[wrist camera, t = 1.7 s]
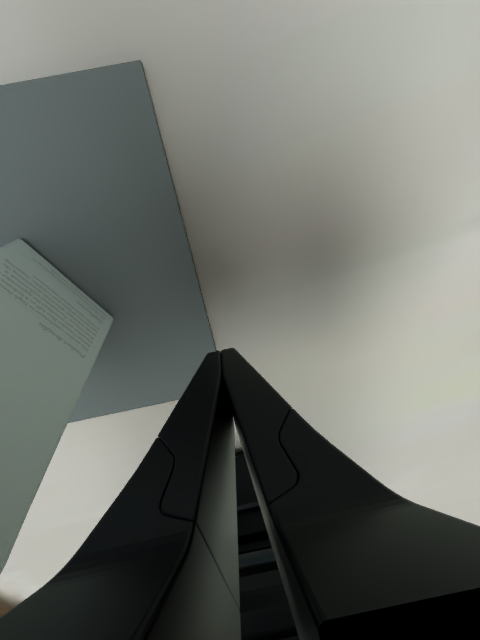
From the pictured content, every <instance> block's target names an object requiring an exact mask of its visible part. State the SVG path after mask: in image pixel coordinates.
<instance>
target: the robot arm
mask: <svg viewBox="0 0 480 640" xmlns="http://www.w3.org/2000/svg"><path fill="white" fill-rule="evenodd" d="M233 417H234V419H233ZM234 421H235V425H236V429H237V432H238V435H239V439H240V442H241V445H242V449H243V452H242V453H237V454H235V438H234ZM0 640H480V526H478V525H475V524H472V523H469V522H466V521H464V520H461V519H458V518H455V517H452V516H450V515H447V514H444V513H441V512H438V511H435V510H433V509H430V508H427V507H424V506H421V505H419V504H416V503H414V502H412V501H409V500H407V499H405V498H403V497H402V496H400V495H398V494H396V493H395V492H393V491H392V490H390V489H389V488H387V487H386V486H384V485H383V484H382V483H380V482H379V481H378V480H377V479H375V478H374V477H373V476H372V475H370V474H369V473H368V472H366V471H365V470H364V469H363V468H361V467H360V466H359V465H358V464H356V463H355V462H354V461H353V460H351V459H350V458H349V457H348V456H346V455H345V454H344V453H343V452H341V451H340V450H339V449H337V448H336V447H335V446H334V445H332V444H331V443H330V442H329V441H328V440H326V439H325V438H324V437H323V436H322V435H320V434H319V433H318V432H317V431H316V430H315V429H314V428H313V427H312V426H310V425H309V424H308V423H307V422H306V421H305V420H304V419H303V418H302V417H301V416H300V415H299V414H298V413H297V412H296V411H295V410H294V409H292V407H291V406H290V405H289V404H288V403H287V402H286V401H285V400H284V399H283V398H282V397H281V396H280V395H279V393H278V392H277V391H276V390H275V389H274V388H273V387H272V386H271V385H270V384H269V383H268V382H267V381H266V380H265V379H264V378H263V377H262V376H261V375H260V374H259V373H258V372H257V371H256V370H255V369H254V368H253V367H252V366H251V365H250V364H249V363H248V362H247V361H246V360H245V359H244V358H243V357H242V356H241V355H240V354H239V352H238V351H237V350H236V349H234V348H229V349H224V350H222V351H221V352H220V351H215V352H210V353H207V354H206V356H205V358H204V359H203V361H202V363H201V364H200V366H199V368H198V369H197V371H196V373H195V374H194V376H193V378H192V379H191V381H190V383H189V384H188V386H187V388H186V389H185V391H184V393H183V394H182V396H181V398H180V400H179V401H178V403H177V405H176V406H175V408H174V410H173V411H172V413H171V415H170V416H169V418H168V420H167V421H166V423H165V425H164V426H163V428H162V430H161V431H160V433H159V435H158V438H156V439H155V441H154V443H153V444H152V446H151V448H150V450H149V451H148V453H147V454H146V456H145V457H144V459H143V461H142V462H141V464H140V465H139V467H138V468H137V470H136V471H135V473H134V474H133V476H132V477H131V478H130V480H129V481H128V483H127V484H126V486H125V487H124V488H123V490H122V491H121V493H120V494H119V495H118V497H117V498H116V499H115V501H114V502H113V503H112V505H111V506H110V508H109V509H108V510H107V512H106V513H105V514H104V516H103V517H102V518H101V520H100V521H99V522H98V524H97V525H96V527H95V528H94V529H93V531H92V532H91V533H90V535H89V536H88V537H87V539H86V540H85V542H84V543H83V544H82V546H81V547H80V548H79V549H78V551H77V552H76V553H75V555H74V556H73V557H72V558H71V559H70V561H69V562H68V563H67V564H66V565H65V566H64V567H63V568H62V569H61V570H60V571H59V572H58V573H57V574H56V575H55V576H54V577H53V578H52V579H51V580H50V581H49V582H48V583H46V584H45V585H44V586H43V587H41V588H40V589H39V590H38V591H36V592H35V593H34V594H32V595H31V596H29V597H28V598H27V599H25V600H24V601H22V602H21V603H20V604H18V605H17V606H16V607H14V608H13V609H11V610H10V611H9V612H7V613H6V614H5V615H3V616H2V617H0Z"/></svg>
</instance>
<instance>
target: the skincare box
mask: <svg viewBox="0 0 480 640" xmlns="http://www.w3.org/2000/svg"><path fill="white" fill-rule="evenodd" d="M112 323H113V317H112V316H111V315H110V314H108V313H107V312H106V311H105V310H104V309H102V308H101V307H100V306H99V305H98V304H97V303H95V302H94V301H93V300H92V299H91V298H90V297H88V296H87V295H86V294H85V293H84V292H83V291H81V290H80V289H79V288H78V287H77V286H76V285H74V284H73V283H72V282H71V281H70V280H68V279H67V278H66V277H65V276H64V275H63V274H62V273H60V272H59V271H58V270H57V269H56V268H55V267H53V266H52V265H51V264H50V263H49V262H48V261H46V260H45V259H44V258H43V257H42V256H40V255H39V254H38V253H37V252H36V251H35V250H33V249H32V248H31V247H30V246H29V245H28V244H26V243H25V242H24V241H23V240H21V239H16V240H14V241H12V242H10V243H8V244H6V245H4V246H2V247H0V574H1V572H2V570H3V568H4V566H5V565H6V562H7V560H8V558H9V555H10V553H11V550H12V548H13V546H14V543H15V541H16V539H17V536H18V534H19V532H20V529H21V527H22V525H23V522H24V520H25V518H26V515H27V513H28V511H29V508H30V506H31V504H32V502H33V499H34V497H35V495H36V493H37V490H38V488H39V486H40V484H41V481H42V479H43V477H44V475H45V472H46V470H47V468H48V465H49V463H50V461H51V459H52V456H53V454H54V452H55V450H56V448H57V445H58V443H59V441H60V439H61V436H62V434H63V432H64V430H65V428H66V425H67V423H68V421H69V419H70V416H71V414H72V412H73V410H74V407H75V405H76V403H77V401H78V398H79V396H80V394H81V392H82V390H83V387H84V385H85V383H86V381H87V379H88V376H89V374H90V372H91V370H92V367H93V365H94V363H95V360H96V358H97V356H98V354H99V351H100V349H101V347H102V345H103V342H104V340H105V338H106V336H107V334H108V332H109V329H110V327H111V325H112Z"/></svg>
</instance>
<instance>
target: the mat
mask: <svg viewBox="0 0 480 640" xmlns="http://www.w3.org/2000/svg"><path fill="white" fill-rule="evenodd" d="M16 239H21V240H23V241H24V242H25V243H26V244H28V245H29V246H30V247H31V248H32V249H33V250H35V251H36V252H37V253H38V254H39V255H40V256H42V257H43V258H44V259H45V260H46V261H48V262H49V263H50V264H51V265H52V266H53V267H55V268H56V269H57V270H58V271H59V272H60V273H62V274H63V275H64V276H65V277H66V278H67V279H68V280H70V281H71V282H72V283H73V284H74V285H76V286H77V287H78V288H79V289H80V290H81V291H83V292H84V293H85V294H86V295H87V296H88V297H90V298H91V299H92V300H93V301H94V302H95V303H97V304H98V305H99V306H100V307H101V308H102V309H104V310H105V311H106V312H107V313H108V314H110V315H111V316H112V317H113V323H112V325H111V327H110V329H109V332H108V334H107V336H106V338H105V340H104V342H103V345H102V347H101V349H100V351H99V354H98V356H97V358H96V360H95V363H94V365H93V367H92V370H91V372H90V374H89V376H88V379H87V381H86V383H85V385H84V387H83V390H82V392H81V394H80V396H79V398H78V401H77V403H76V405H75V407H74V410H73V412H72V414H71V416H70V419H69V421H68V423H70V422H75V421H80V420H85V419H89V418H94V417H99V416H103V415H108V414H113V413H118V412H122V411H127V410H132V409H136V408H141V407H146V406H151V405H155V404H160V403H165V402H169V401H174V400H179V399H180V398H181V396H182V394H183V393H184V391H185V389H186V388H187V386H188V384H189V383H190V381H191V379H192V378H193V376H194V374H195V373H196V371H197V369H198V368H199V366H200V364H201V363H202V361H203V359H204V358H205V356H206V354H207V353H210V352H215V351H216V348H215V344H214V340H213V337H212V333H211V329H210V325H209V321H208V317H207V313H206V310H205V306H204V302H203V298H202V294H201V290H200V286H199V282H198V279H197V275H196V271H195V267H194V263H193V259H192V255H191V252H190V248H189V244H188V240H187V236H186V232H185V228H184V224H183V221H182V217H181V213H180V209H179V205H178V201H177V197H176V194H175V190H174V186H173V182H172V178H171V174H170V170H169V166H168V163H167V159H166V155H165V151H164V147H163V143H162V139H161V136H160V132H159V128H158V124H157V120H156V116H155V112H154V108H153V105H152V101H151V97H150V93H149V89H148V85H147V81H146V78H145V74H144V70H143V66H142V63H141V61H140V60H139V61H133V62H127V63H122V64H116V65H111V66H105V67H100V68H94V69H89V70H83V71H78V72H72V73H67V74H61V75H56V76H50V77H45V78H39V79H34V80H28V81H23V82H17V83H12V84H6V85H1V86H0V247H2V246H4V245H6V244H8V243H10V242H12V241H14V240H16Z"/></svg>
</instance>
